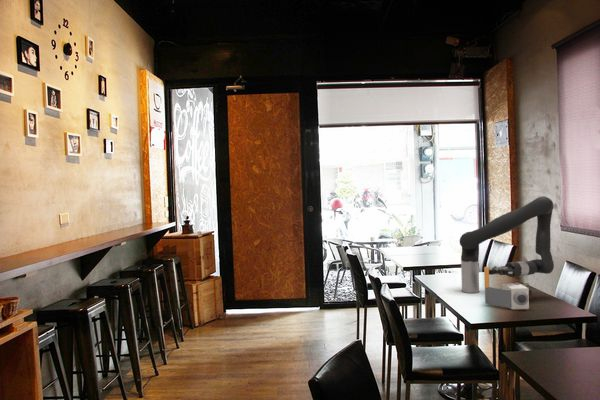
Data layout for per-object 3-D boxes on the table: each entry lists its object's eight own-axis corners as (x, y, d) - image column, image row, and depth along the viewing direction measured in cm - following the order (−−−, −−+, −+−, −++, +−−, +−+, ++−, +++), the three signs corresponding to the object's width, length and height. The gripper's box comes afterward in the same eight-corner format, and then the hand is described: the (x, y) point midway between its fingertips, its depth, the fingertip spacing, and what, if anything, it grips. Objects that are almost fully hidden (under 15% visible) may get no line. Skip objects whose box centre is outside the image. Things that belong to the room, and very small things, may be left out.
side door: (485, 303, 249) (484, 267, 248) (486, 303, 249) (485, 266, 249) (509, 308, 239) (509, 270, 238) (511, 307, 239) (510, 269, 239)
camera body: (502, 303, 251) (502, 281, 251) (519, 302, 251) (518, 281, 251) (513, 310, 237) (513, 287, 237) (530, 310, 237) (530, 287, 237)
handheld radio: (510, 302, 254) (527, 293, 272) (516, 303, 252) (533, 294, 270) (510, 289, 254) (527, 280, 272) (517, 290, 251) (533, 281, 270)
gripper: (507, 260, 259) (479, 262, 254) (526, 263, 247) (497, 266, 241) (507, 274, 259) (479, 277, 254) (526, 278, 247) (498, 282, 241)
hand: (488, 272), depth 248 cm, fingers closed
